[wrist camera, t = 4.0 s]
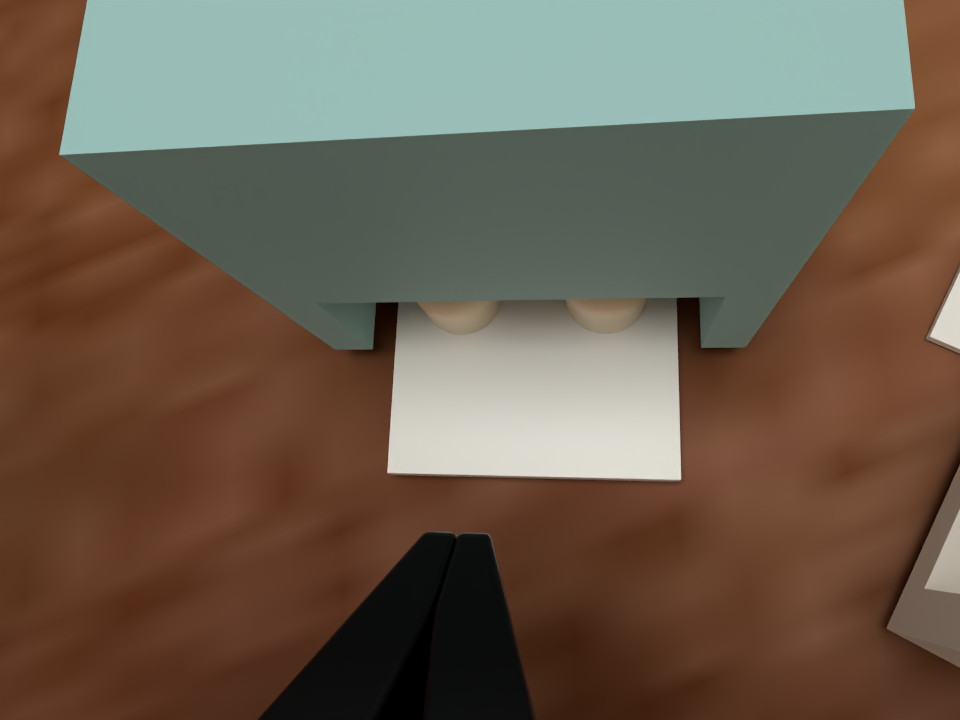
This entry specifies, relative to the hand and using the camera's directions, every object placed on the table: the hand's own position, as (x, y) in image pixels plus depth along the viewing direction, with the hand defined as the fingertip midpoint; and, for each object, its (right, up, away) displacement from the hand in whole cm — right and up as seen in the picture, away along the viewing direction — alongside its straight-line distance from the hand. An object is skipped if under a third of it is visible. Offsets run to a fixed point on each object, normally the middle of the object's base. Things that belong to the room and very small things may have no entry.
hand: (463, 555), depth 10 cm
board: (+2, +5, +10) cm, 12 cm away
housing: (+2, +7, +10) cm, 12 cm away
